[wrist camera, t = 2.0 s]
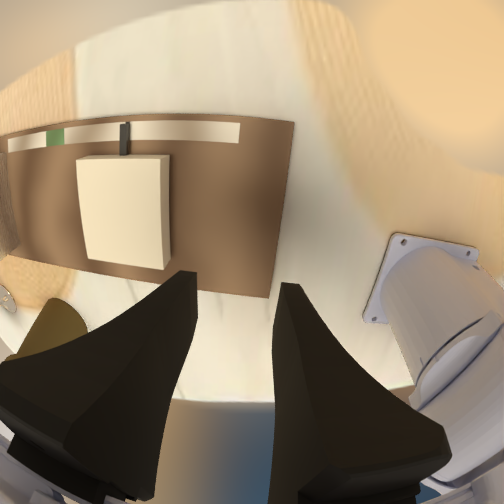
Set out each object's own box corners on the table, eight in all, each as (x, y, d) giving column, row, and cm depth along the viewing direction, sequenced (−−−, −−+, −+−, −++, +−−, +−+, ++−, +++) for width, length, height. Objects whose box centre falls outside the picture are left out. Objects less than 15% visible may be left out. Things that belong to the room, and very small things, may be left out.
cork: (39, 292, 23) (-17, 360, 14) (79, 304, 23) (21, 385, 14) (55, 332, 26) (11, 398, 16) (93, 346, 26) (51, 422, 16)
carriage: (170, 122, 14) (161, 123, 13) (170, 258, 18) (163, 270, 17) (88, 126, 14) (75, 129, 13) (98, 248, 19) (88, 258, 17)
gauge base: (293, 122, 15) (294, 122, 14) (269, 290, 21) (268, 299, 20) (-3, 137, 15) (-11, 140, 14) (14, 250, 21) (7, 255, 20)
